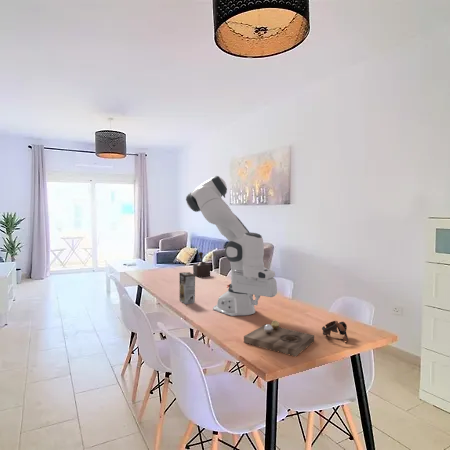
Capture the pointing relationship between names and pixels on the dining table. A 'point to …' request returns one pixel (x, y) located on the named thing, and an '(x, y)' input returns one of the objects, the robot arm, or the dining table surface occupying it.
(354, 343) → the dining table surface
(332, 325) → the dark brown arched piece
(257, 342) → the seat plate
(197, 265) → the manual coffee grinder
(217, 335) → the dining table surface
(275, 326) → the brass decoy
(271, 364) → the dining table surface
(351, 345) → the dining table surface
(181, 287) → the coffee box
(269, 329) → the steel ball
